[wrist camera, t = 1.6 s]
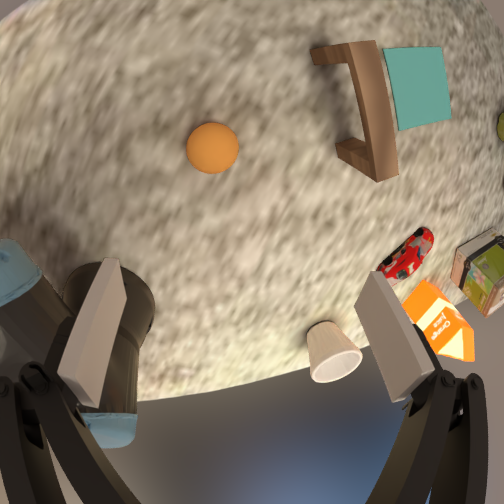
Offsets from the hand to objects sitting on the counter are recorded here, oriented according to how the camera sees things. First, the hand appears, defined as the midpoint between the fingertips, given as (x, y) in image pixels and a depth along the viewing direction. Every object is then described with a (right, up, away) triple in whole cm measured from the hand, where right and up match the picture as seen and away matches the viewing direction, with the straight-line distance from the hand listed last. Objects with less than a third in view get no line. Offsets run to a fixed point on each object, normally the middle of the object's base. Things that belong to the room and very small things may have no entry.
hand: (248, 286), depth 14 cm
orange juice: (+38, -8, +42) cm, 57 cm away
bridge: (+10, +20, +16) cm, 27 cm away
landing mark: (+24, +25, +15) cm, 38 cm away
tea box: (+53, +2, +38) cm, 65 cm away
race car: (+28, +2, +33) cm, 43 cm away
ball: (-4, +13, +14) cm, 19 cm away
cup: (+14, -14, +39) cm, 44 cm away
